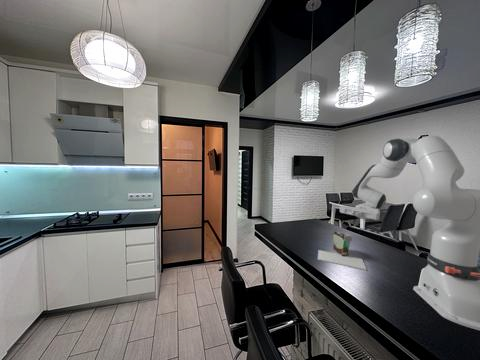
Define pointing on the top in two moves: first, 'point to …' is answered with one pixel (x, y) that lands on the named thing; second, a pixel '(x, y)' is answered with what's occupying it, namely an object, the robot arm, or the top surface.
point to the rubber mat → (341, 260)
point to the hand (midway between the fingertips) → (354, 214)
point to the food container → (341, 242)
